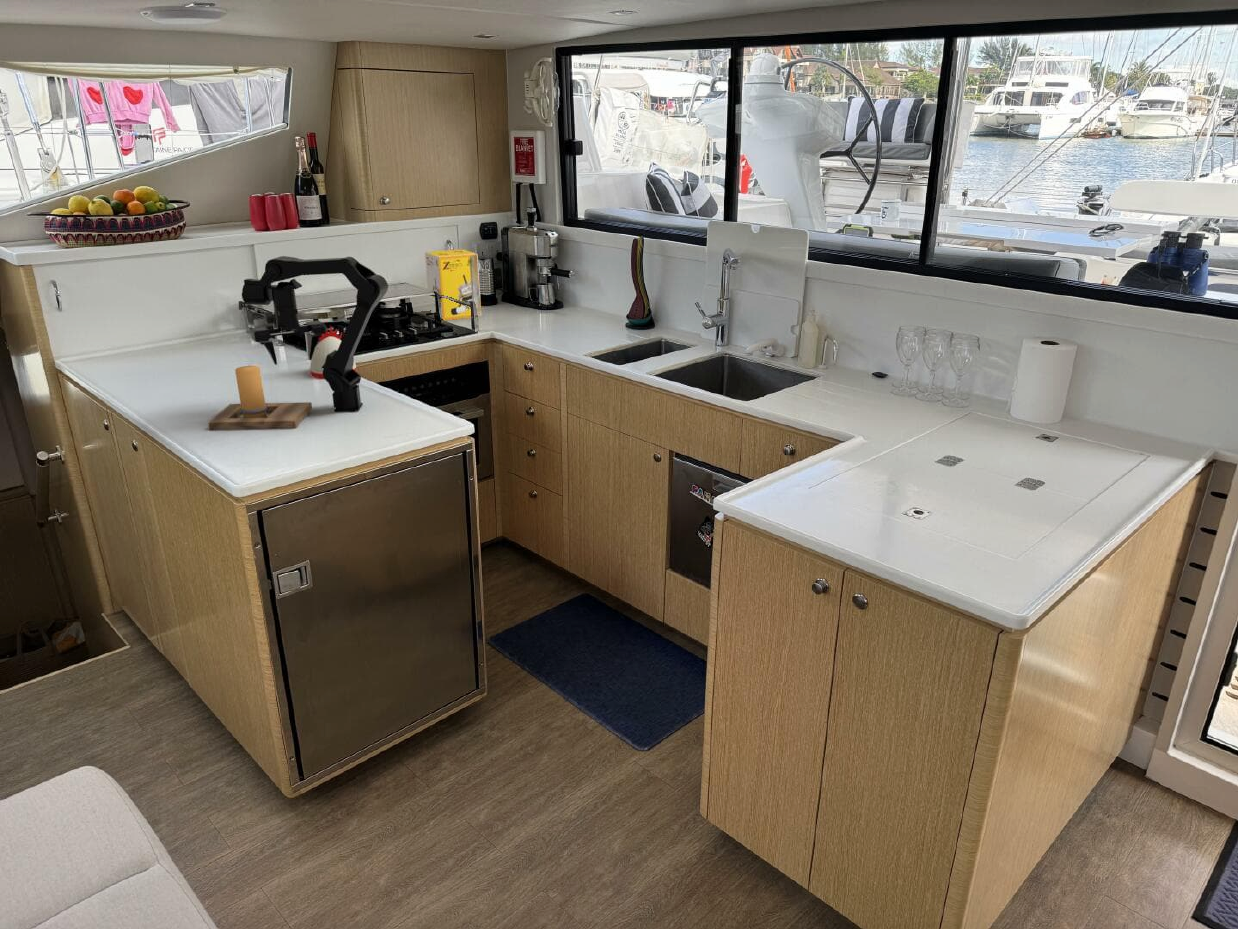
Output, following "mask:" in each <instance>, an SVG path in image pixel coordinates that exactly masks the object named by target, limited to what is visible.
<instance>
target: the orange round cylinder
mask: <svg viewBox="0 0 1238 929" xmlns="http://www.w3.org/2000/svg"><path fill="white" fill-rule="evenodd" d="M234 371H235V372H234V373H235V377H236V383H237V390H238V397H239V403H240V404H241V413H242V415H241V416H242V418H267V417H268V413H267V412H266V411H267V406H266V404H265V403H266V399H265V393H264V385H263V380H262V374H261V367H260V366H257V365H245V366H240V367H237V368H235V369H234Z"/></svg>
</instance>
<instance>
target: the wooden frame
mask: <svg viewBox="0 0 1238 929" xmlns="http://www.w3.org/2000/svg"><path fill="white" fill-rule="evenodd" d="M265 404H266V406H267V411H266V412H267V414H269V415H267V418H243V417H242V418H241V416H243V415H242V413H241V403H229V404H228V405H227V406H226V407H224V409H222V410H221V411H220V412H219V413H218V414H217V415H215V416H214V417H213V418H212V419H211V420H209V421H208V423H207V424H208V429H209V431H221V430H223V431H224V430H226V431H227V430H228V431H229V430H262V429H265V430H266V429H267V430H269V429H271V430H272V429H273V430H275V429H296V428H298V427H299V425H300V424H301V423H302V422H303V421H304V420H305V418H306V417H307V416H308V415H309V414H310V413H311V411H312V410H313V403H312V402H310V401H309V402H308V401H307V402H305V401H304V402H265Z"/></svg>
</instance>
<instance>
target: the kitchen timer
mask: <svg viewBox="0 0 1238 929" xmlns="http://www.w3.org/2000/svg"><path fill="white" fill-rule="evenodd" d="M327 327H328V326H326V331H327V333H326V334H321V335H322V337H320V338H319V339H318V342H317V344H316V346H315V349H314V353H313V356H312V359H311V360H310V366H309V367H310V376H311V375H312V376H313V377H312V376H311V377H312V378H314V377H315V379H319V380H325V378H324V376H323V369H324V368H321V367H322V366H323V365H324V364H325V360H326V357H327V355H328V354H330V353H331V352H333V351H334V350H338V348H339V346H340V343H341V341H342V338H343V332H340V334H339V335H338V329H337V328H335V330H334V331H333V327H332V326H331V325H330V327H329V330H328V328H327ZM355 360H356V359H354V364H353V369H354V370H355V371H356V372H357V373H358V369H357V365H356V361H355Z"/></svg>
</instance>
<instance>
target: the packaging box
mask: <svg viewBox="0 0 1238 929" xmlns="http://www.w3.org/2000/svg"><path fill="white" fill-rule="evenodd" d="M424 258H425V269H426V281H427V290H428V289H431V290H433V291H436V292H437V293H438V294H439V295H444V296H448V297H452V298H454V299H457V300H460V301H468V302H469V301H474V302H475V304H476V308H477V315H478V317H482V305H481V304H482V303H481V288H480V287H481V286H480V272H479V258H478V254H477V253H476V252H473V251H469V250H466V249H464V248H463V249H451V250H450V249H449V250H437V251H427V252H426V251H425V252H424ZM440 303H441V315H442V319H443V320H444V321H443V320H442V321H443V322H445V321H450V320H451V321H453V320H461V319H468V318H470V319H471V318H472V317H471V309H470V307H469V306H467V305H462V304H459V303H456V302H454V301H451V300H449V299H446V298H441V300H440ZM478 317H477V318H478Z"/></svg>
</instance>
